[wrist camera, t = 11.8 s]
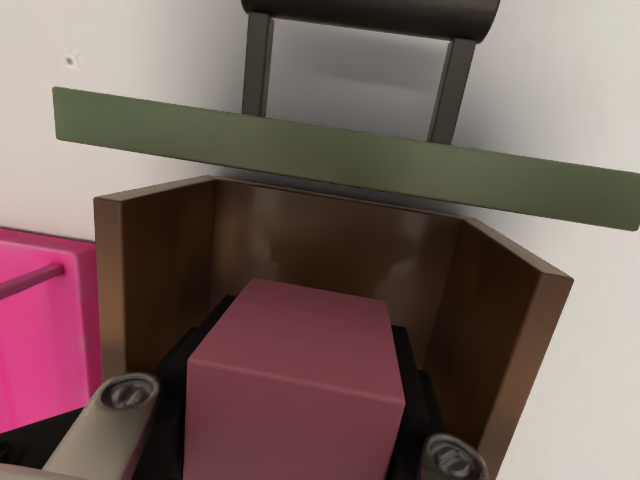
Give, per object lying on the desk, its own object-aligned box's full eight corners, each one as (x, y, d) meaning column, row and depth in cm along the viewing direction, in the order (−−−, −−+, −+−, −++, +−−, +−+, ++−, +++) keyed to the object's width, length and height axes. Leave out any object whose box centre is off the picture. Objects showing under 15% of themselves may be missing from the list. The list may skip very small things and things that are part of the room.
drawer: (200, 2, 13) (31, -153, 6) (542, 46, 13) (772, -78, 6) (186, 386, 19) (86, 528, 12) (425, 434, 18) (469, 619, 11)
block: (252, 276, 11) (185, 358, 7) (387, 300, 11) (407, 402, 6) (241, 387, 12) (179, 517, 8) (362, 411, 12) (365, 559, 8)
